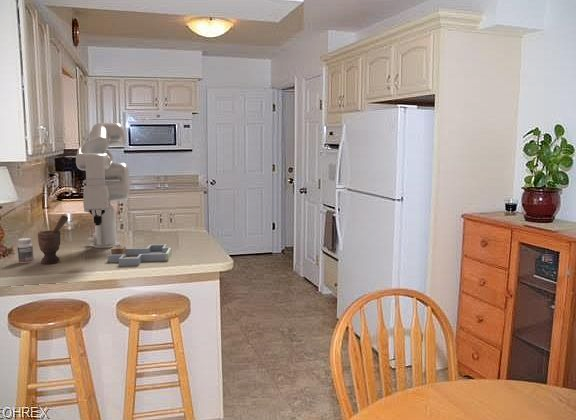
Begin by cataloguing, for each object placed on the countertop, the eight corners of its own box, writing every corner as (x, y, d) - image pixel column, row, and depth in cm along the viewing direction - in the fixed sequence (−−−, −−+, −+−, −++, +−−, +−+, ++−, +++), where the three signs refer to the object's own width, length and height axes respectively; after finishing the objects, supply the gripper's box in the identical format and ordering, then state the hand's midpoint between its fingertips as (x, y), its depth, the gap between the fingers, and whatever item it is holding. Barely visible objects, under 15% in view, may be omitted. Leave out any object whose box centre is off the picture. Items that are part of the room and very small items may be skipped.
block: (111, 260, 219) (111, 248, 218) (114, 257, 224) (113, 246, 223) (123, 259, 219) (122, 248, 218) (125, 257, 224) (125, 246, 223)
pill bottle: (22, 260, 218) (20, 237, 217) (35, 260, 218) (34, 237, 217) (16, 263, 212) (14, 240, 211) (30, 263, 213) (28, 240, 211)
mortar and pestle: (64, 257, 223) (61, 213, 220) (72, 261, 217) (69, 215, 214) (36, 262, 215) (33, 215, 212) (44, 265, 209) (41, 218, 206)
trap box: (104, 266, 208) (103, 259, 207) (118, 251, 234) (118, 245, 234) (165, 264, 210) (165, 257, 210) (173, 250, 237) (173, 244, 237)
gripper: (75, 183, 211) (77, 226, 214) (111, 183, 213) (113, 226, 215) (80, 182, 219) (82, 224, 221) (115, 181, 220) (117, 223, 222)
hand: (98, 225), depth 218 cm, fingers closed
